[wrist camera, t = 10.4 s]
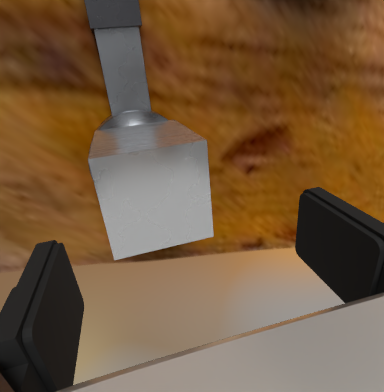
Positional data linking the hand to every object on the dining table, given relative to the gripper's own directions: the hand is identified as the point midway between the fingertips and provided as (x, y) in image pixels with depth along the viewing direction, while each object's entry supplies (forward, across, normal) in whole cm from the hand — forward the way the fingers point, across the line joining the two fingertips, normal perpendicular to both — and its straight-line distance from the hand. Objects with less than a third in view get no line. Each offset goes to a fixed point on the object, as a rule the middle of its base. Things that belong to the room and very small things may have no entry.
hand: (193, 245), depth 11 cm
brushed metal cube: (+13, +1, 0) cm, 13 cm away
